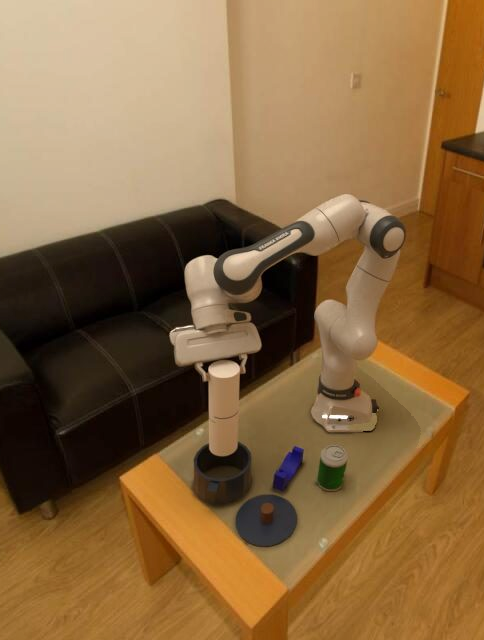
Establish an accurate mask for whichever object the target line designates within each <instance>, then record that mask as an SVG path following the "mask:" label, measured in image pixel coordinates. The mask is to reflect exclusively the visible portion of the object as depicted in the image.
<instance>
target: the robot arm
mask: <svg viewBox="0 0 484 640" xmlns="http://www.w3.org/2000/svg"><path fill="white" fill-rule="evenodd" d="M406 235H407V229H406V227H405V224H404V223H403V221H402V220H400V218H399V217H397V216H395V215H394V214H392V213H390V212H389V211H388V210H387V209H385V208H383V207H381V206H377V205H375V204H373V203H371V202H369V201H367V200H363V199H358V198H357V197H356V196H354V195H352V194H349V193H344V194H341V195H338V196H335V197H333V198H331V199H329V200H327V201H325V202H323V203H321V204H319V205H318V206H316V207H315V208H313V209H311V210H310V211H308V212H307V213H305V214H304V215H303V216H301V217H300V218H298V219H296V220H295V221H293V222H292V223H290V224H288V225H286V226H284V227H282V228H279V230H276V231H274V232H273V233H271V234H269V235H268V236H265V237H264V238H262V239H261V240H259V241H257V242H255V243H253V244H251V245H248V246H245V247H241V248H235V249H230V250H227V251H225V252H224V253H222V254H221V255H219V257H218V258H217V257H215V256H213V255H210V254H205V255H200V256H197V257H195V258H193V259H191V260H190V261H188V263H186V265H185V268H184V284H185V290H186V295H187V298H188V300H189V302H190V306H191V307H190V308H191V311H190V315H191V318H192V323H193V324H189V325H185V326H176V327H174V329H171V331H170V332H169V335H168V336H169V342H170V344H171V345H172V346H173V355H174V363H175V365H177V366H178V367H180V368H182V367H187V366H188V367H189V366H193V365H194V369H195V370H196V372H198V373H199V374H200V375H201V378H202V382H203V383H205V382H209V381H210V380H211V378H210V374H209V372H206V371H205V370H204V369H203V368H202V367H203V366H204V363H208V362H215V361H220V360H226V359H230V358H235V357H238V359H239V361H240V365H239V367H240V375H243V374H246V372H247V371H246V366H245V365H246V363H247V359H248V355H251V354H256V353H258V352H259V351H261V349H262V345H263V344H262V339H261V337H260V334H259V331H258V329H257V327H256V325H255V324H254V323H253V322H251V321H252V316H251V313H250V312H248V311H242V310H240V311H239V310H236V309H235V310H233V309H230V305H231V304H233V305H234V304H247V303H251V302H253V301H255V300H256V299H257V298H258V297H259V296H260V295H261V292H262V289H263V281H262V275H263V273H264V272H265V271H266V270H268V269H270V268H271V267H272V266H275V265H276V264H277V263H279V262H281V261H282V260H285V259H286V258H288V257H289V256H291V255H293V254H296V253H303V254H306V255H309V256H315V257H318V256H320V255H322V254H324V253H325V254H326V253H327V252H329V251H331V250H332V249H333V248H335V247H337V246H338V245H340V244H341V243H343V242H344V241H346V240H347V239H348V238H350V237H353V238H354V239H355V240H356V241H357V242H358V243H360V244H362V245H364V248H363V253H362V254H361V256H360V257H359V259H358V261H357V263H356V265H355V267H354V269H353V271H352V273H351V274H350V277H349V278H348V281H347V283H346V286H345V294H346V295H345V296H346V305H345V304H344V303H342V302H339V301H338V300H335V299H326V300H323V301H322V302H321V303H320V304H319V305H318V306H316V309H315V311H314V314H313V315H314V316H313V318H314V320H315V324H316V327H317V329H318V334H319V335H318V336H319V341H320V348H321V370H320V375H319V377H318V380H317V387H316V391H317V394H316V398H315V401H314V403H313V405H312V407H311V410H310V414H311V417H312V419H313V420H314V421H315V422H316V423H318V424H319V425H321V426H322V427H323V429H325V431H326V432H328V433H364V432H363V431H362V430H350V429H348V428H347V427H348V425H353V424H362V423H369V422H370V420H371V417H372V413H376V412H377V409H379V410H380V406H379V405H378V403H377V399H374V398H371V397H370V396H369V394H368V393H366V392H365V391H363V390H362V389H361V388H360V387H361V384H360V378H357V379H356V374H357V367H358V361H365V360H367V359H368V358H370V357H371V356H372V355H373V354H374V353H375V351H376V349H377V347H378V341H379V339H378V336H377V330H376V322H377V314H378V310H379V306H380V303H381V301H382V298H383V297H384V294H385V292H386V291H387V288H388V286H389V284H390V283H391V280H392V278H393V276H394V274H395V272H396V269H397V266H398V263H399V260H400V258H401V249H402V247H403V245H404V243H405V240H406ZM377 413H378V412H377ZM349 427H350V426H349ZM357 429H358V428H357Z"/></svg>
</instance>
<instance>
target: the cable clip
mask: <svg viewBox="0 0 484 640" xmlns="http://www.w3.org/2000/svg"><path fill="white" fill-rule="evenodd" d="M304 451H305V449H304V448H301V447H299V446H296V445H294V446H293V447H292V449H291V451H288V452H287V454H286V455H285V457H284V458H283V461H282V462H281V465H280V467H279V468H278V470H275V472H274V473H273V482H272V489H274V490H277V491H279V492H281V493H284V491H285V488H287V487H288V485H289V484H290V482H291V481H292V480H293V478H294V476H295V475H296V473H297V472H298V470H299V469H300V466H302V465H303V461H304Z"/></svg>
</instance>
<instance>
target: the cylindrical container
mask: <svg viewBox="0 0 484 640" xmlns="http://www.w3.org/2000/svg"><path fill="white" fill-rule="evenodd" d="M239 366H240V365H239V364H238V363H237V362H235V361H233V360H228V359H220V360H215V361H213V362H212V363H211V364H210V365H209V366H208V373H209V374H210V378H211V380H210V381H208V443H209V449H210V451H211V452H212V453H213V454H214V455H217V456H227V455H230V454H232V453H234V452H235V451H236V449H237V446H238V442H239V440H238V439H239V415H240V414H239V411H240V379H241V378H240V375H241V374H240V367H239Z"/></svg>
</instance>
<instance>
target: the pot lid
mask: <svg viewBox="0 0 484 640" xmlns="http://www.w3.org/2000/svg"><path fill="white" fill-rule="evenodd" d="M297 523H298V515H297V511H296V508H295V506H294V505H293V504H292V503H291V502H290V501H289V500H288V499H286V498H285V497H282V496H280V495H277V494H269V493H267V494H260V495H257V496H253V497H251V498H249V499H248V500H246V501H245V502H244V503H243V504H242V505H241V506H240V508H239V509H238V510H237V513H236V515H235V528H236V531H237V533H238V535H239V536H240V538H241V539H242V540H244V541H245V542H246V543H248V544H250V545H252V546H256V547H261V548H267V547H274V546H277V545H280V544H282V543H284V542H285V541H286V540H287V539H289V538H290V537H291V536H292V535H293V533H294V532H295V530H296V527H297Z"/></svg>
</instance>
